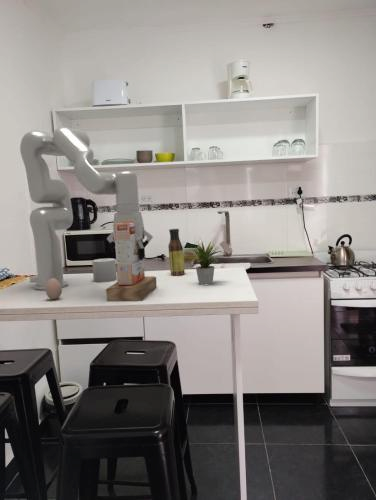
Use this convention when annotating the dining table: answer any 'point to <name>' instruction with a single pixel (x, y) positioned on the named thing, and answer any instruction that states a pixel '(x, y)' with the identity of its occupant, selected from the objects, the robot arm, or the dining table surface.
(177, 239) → the sauce bottle
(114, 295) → the riser
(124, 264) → the cracker box
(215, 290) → the dining table surface
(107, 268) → the grey mug
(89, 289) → the dining table surface
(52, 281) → the egg
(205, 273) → the house plant
